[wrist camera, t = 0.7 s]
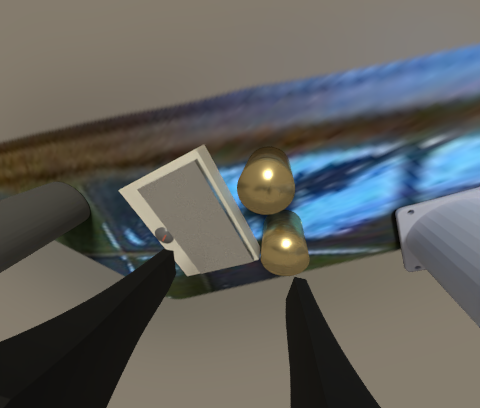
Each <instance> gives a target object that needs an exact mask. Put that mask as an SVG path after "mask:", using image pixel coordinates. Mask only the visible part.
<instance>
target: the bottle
mask: <svg viewBox="0 0 480 408" xmlns="http://www.w3.org/2000/svg"><path fill="white" fill-rule="evenodd" d="M89 215H90V209H89V205H88V203H87V201H86V200H85V198H84V197H83V196H82V195H81V194H80V193H79V192H78V191H77V190H76V189H74V188H73V187H71V186H70V185H68V184H65V183H62V182H52V183H49V184H46V185H43V186H40V187H37V188H34V189H31V190H28V191H26V192H23V193H20V194H17V195H14V196H11V197H8V198H6V199H3V200H0V273H1V272H2V271H4V270H6V269H7V268H9V267H11V266H12V265H14V264H16V263H17V262H19V261H21V260H22V259H24V258H26V257H27V256H29V255H31V254H32V253H34V252H35V251H37V250H38V249H40V248H42V247H44V246H45V245H47V244H48V243H50V242H52V241H53V240H55V239H57V238H58V237H60V236H61V235H63V234H65V233H66V232H68V231H70V230H71V229H73V228H74V227H76V226H78V225H79V224H81V223H82V222H84V221H85V220H87V219H88V218H89Z"/></svg>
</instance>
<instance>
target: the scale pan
mask: <svg viewBox="0 0 480 408" xmlns="http://www.w3.org/2000/svg"><path fill="white" fill-rule="evenodd" d="M137 190H138V192H139V193H140V194H141V196H142V197H143V198H144V199H145V201H146V202H147V203H148V205H149V206H150V207H151V209H152V210H153V211H154V213H155V214H156V215H157V217H158V218H159V219H160V221H161V222H162V223H163V224H164V226H165V227H166V228H167V230H168V231H169V232H170V234H171V235H172V236H173V238H174V239H175V240H176V242H177V243H178V244H179V246H180V247H181V248H182V249H183V251H184V252H185V253H186V255H187V256H188V257H189V259H190V260H191V261H192V263H193V264H194V265H195V267H196V268H197V269H198V271H199V272H200V273H201V274H202V273H207V272H211V271H215V270H220V269H224V268H228V267H232V266H237V265H241V264H245V263H250V262H254V256H253V254H252V253H251V251H250V249H249V247H248V246H247V244H246V242H245V240H244V239H243V237H242V235H241V234H240V232H239V230H238V228H237V227H236V225H235V223H234V221H233V220H232V218H231V216H230V215H229V213H228V211H227V209H226V208H225V206H224V204H223V202H222V201H221V199H220V197H219V196H218V194H217V192H216V190H215V189H214V187H213V185H212V183H211V182H210V180H209V178H208V177H207V175H206V173H205V171H204V170H203V168H202V166H201V164H200V163H199V161H198V159H195V160H193V161H191V162H189V163H187V164H185V165H183V166H181V167H179V168H177V169H176V170H174V171H172V172H170V173H168V174H166V175H164V176H162V177H160V178H158V179H156V180H154V181H152V182H150V183H148V184H146V185H144V186H142V187H140V188H139V189H137Z"/></svg>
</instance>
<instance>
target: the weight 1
mask: <svg viewBox="0 0 480 408" xmlns="http://www.w3.org/2000/svg"><path fill="white" fill-rule="evenodd" d="M237 192H238V196H239V198H240V200H241V202H242V203H243V205H244V206H245V207H246V208H248V209H249V210H251V211H253V212H255V213H258V214H263V215H269V214H275V213H278V212H280V211H282V210H283V209H285V208H286V207H287V206H288V205H289V204H290V203H291V201H292V199H293V197H294V193H295V184H294V179H293V175H292V171H291V166H290V162H289V159H288V157H287V156H286V154H285V153H284V152H283V151H281V150H280V149H278V148H275V147H262V148H260V149H258V150H256V151H255V152H254V153H253V154H252V155H251V156H250V158H249V160H248V162H247V164H246V166H245V168H244V170H243V172H242V174H241V176H240V178H239V180H238V184H237Z"/></svg>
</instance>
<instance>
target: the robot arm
mask: <svg viewBox="0 0 480 408" xmlns="http://www.w3.org/2000/svg"><path fill="white" fill-rule="evenodd" d="M410 210H411V212H409V213H407V212H408V211H410ZM395 215H396V221H397V227H398V233H399V239H400V245H401V251H402V256H403V263H404V267H405V269H406V270H407V271H409V272H413V271H420V270H425V269H427V270H428V272H429V273H430V274H431V275H432V276H433V277H434V278H435V279H436V280H437V281H438V282H439V284H440V285H441V286H442V287H443V288H444V289H445V290H446V291H447V292H448V293H449V295H450V296H451V297H452V298H453V299H454V300H455V301H456V302H457V303H458V304H459V306H460V307H461V308H462V309H463V310H464V311H465V312H466V313H467V314H468V315H469V317H470V318H471V319H472V320H473V321H474V322H475V323H476V324H477V325H478V326H479V328H480V187H478V188H474V189H470V190H467V191H463V192H459V193H455V194H451V195H448V196H444V197H440V198H436V199H433V200H429V201H425V202H421V203H417V204H414V205H410V206H406V207H402V208H399V209H398V210H397V211H396V212H395ZM175 275H176V269H175V259H174V251H172V250H167V249H163V250H162V251H160V252H159V253H158V254H156V255H155V256H154V257H152V258H151V259H150V260H148V261H147V262H145V263H144V264H143V265H141V266H140V267H139V268H137V269H136V270H134V271H133V272H131V273H130V274H129V275H127V276H126V277H124V278H123V279H121V280H120V281H119V282H117V283H115V284H114V285H112V286H111V287H109V288H108V289H106V290H104V291H102V292H101V293H99V294H97V295H96V296H94V297H92V298H91V299H89V300H87V301H86V302H83V303H82V304H80V305H78V306H76V307H74V308H72V309H70V310H68V311H66V312H64V313H63V314H61V315H59V316H57V317H55V318H53V319H51V320H48V321H46V322H44V323H42V324H40V325H38V326H36V327H34V328H31V329H29V330H27V331H25V332H22V333H20V334H18V335H16V336H13V337H11V338H9V339H6V340H4V341H1V342H0V408H106V407H107V405H108V403H109V401H110V398H111V396H112V394H113V392H114V390H115V388H116V385H117V383H118V381H119V379H120V377H121V375H122V372H123V371H124V369H125V367H126V364H127V362H128V360H129V358H130V356H131V354H132V352H133V350H134V348H135V346H136V344H137V342H138V340H139V338H140V337H141V335H142V333H143V331H144V330H145V328H146V326H147V325H148V323H149V321H150V320H151V318H152V316H153V315H154V313H155V312H156V310H157V308H158V307H159V305H160V303H161V302H162V300H163V298H164V297H165V295H166V293H167V292H168V290H169V288H170V286H171V284H172V282H173V279H174V277H175ZM286 329H287V340H288V352H289V363H290V383H291V384H290V385H291V386H290V387H291V408H381V407H380V406H379V405H378V403H377V402H376V400H375V399H374V398H373V396H372V395H371V394H370V392H369V391H368V389H367V388H366V386H365V385H364V383H363V382H362V380H361V379H360V377H359V376H358V374H357V373H356V371H355V370H354V368H353V367H352V365H351V364H350V362H349V361H348V359H347V357H346V356H345V354H344V352H343V351H342V349H341V347H340V346H339V344H338V342H337V341H336V339H335V337H334V335H333V333H332V332H331V330H330V328H329V326H328V324H327V322H326V320H325V318H324V317H323V315H322V313H321V311H320V309H319V307H318V305H317V303H316V300H315V298H314V296H313V294H312V292H311V290H310V287H309V285H308V283H307V281H306V280H305V279H302V278H297V277H294V279H293V282H292V285H291V288H290V290H289V293H288V295H287V298H286Z"/></svg>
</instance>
